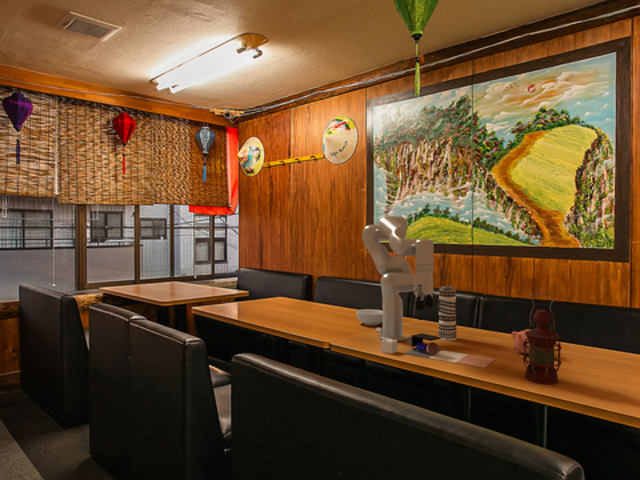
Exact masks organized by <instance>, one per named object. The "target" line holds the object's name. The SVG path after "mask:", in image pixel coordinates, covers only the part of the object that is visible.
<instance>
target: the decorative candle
mask: <svg viewBox="0 0 640 480" xmlns="http://www.w3.org/2000/svg"><path fill="white" fill-rule="evenodd" d="M456 292H457V289H456V288H455V287H454V286H450V285H445V286H441V287H440V288H439V297H438V298H437V304H438V305H437V308H438V309H437V310H438V315H439V319H438V324H437V325H438V327H437V329H439V330H438V331H437V332H438V334H437V337H441V339H440V340H441V341H448V342H449V341H456V340H457V332H458V331H456V330H457V320H456V319H457V318H456V316H457V314H458V313H457V312H458V310H457V309H456V308H458V302H456V301H458V300H459V299H458V298H457V296H456V294H457V293H456Z"/></svg>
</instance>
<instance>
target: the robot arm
mask: <svg viewBox="0 0 640 480" xmlns="http://www.w3.org/2000/svg"><path fill="white" fill-rule="evenodd" d="M408 227H409V222H408V220H407V219H406V218H405V217H404V216H398V215H397V216H396V215H395V216H393V215H388V216H387V215H386V216H382V217H381V218H380V219H379V220H378V223H377V224H369V225H366V226H365V227H364V228H363V230H362V235H361V236H362V241H363V244H364V247H365V248H366V249H367V252H369V254H370V256H371V258H372V261H373V263H374V265H375V267H376V269H377V271H378V273H379V274H380V275H382V276H381V277H380V288H381V295H382V311H383V323H382V327H376V329H375V333H380V334H379V339H380V340H384V339H387V338H388V339H394V340H397V342H401V341H405V340H406V339H407V336H406V335H405V334H403V332H404V331H403V325H404V324H403V323H404V318H403V317H404V316H403V315H404V313H403V311H404V310H403V309H404V305H403V299H402V297H401V296H400V293H408V292H409V293H411V292H413V294H414V297H415V298H414V299H415V310H416V311H424V308H433V306H434V303H433V302H434V299H433V298H434V295H433V294H434V277H433V273H434V270H435V269H434V268H435V267H434V262H435V261H434V251H435V250H434V246H435V245H434V241H433V239H429V238H427V239H425V238H424V239H423V238H406V237H407V235H408V233H407V232H408V231H407V230H408ZM381 242H388V243H389V247H390V249H391V250H392V251H393V252H394V253H395V254H397V255H391V254H390V253H389V251H388V249H387V248H386V246H385V245H384V244H383V243H381ZM406 256H407V257H409V256H410V257H412V256H415V257H414V258H415V265H414V268H415V269H414V271H415V273H414V271H413V269H412V267H411V265H410V263H409V261H408V259H407V258H406ZM424 300H425V301H424ZM424 303H425V305H424ZM424 306H425V307H424Z"/></svg>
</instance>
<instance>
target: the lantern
mask: <svg viewBox="0 0 640 480" xmlns="http://www.w3.org/2000/svg"><path fill="white" fill-rule="evenodd" d="M534 295H544V296H549V297H551V300H552V301H551V303H550V304H549V305H550V306H549V311H550V313H549V311H548V310H546V309H537V310H536V311H535V313H534V314H533V312H534V309H535V302H534V300H533V296H534ZM530 298H531V300H532V303H533V307H532V309H531V311H530V314H529V326H530V329H529V330H530V331H526V330H525V331H526V332H525V335H526V336H527V338H526V339H525V341H524V343H523V347H524V353H523V357H522V361H523V366H524V367H525V369H526V370H525V375H524V378H525V380H528V382H531V383H536V384H539V385H545V386H546V385H547V386H548V385H556V384H558V383H559V378H558V372H559V370H560V367H561V365H562V361H561V350H562V349H563V348H562V346H561V342H560V341H559V340H558V339H559V338H561V336H560V334H558V333H556V332H554V331H555V328H556V327H555V324H556V323H555V316H554V312H552V308H551V306H552V305H553V302H554V300H555V299H554V296H553V295H551V294H549V293H544V292H543V293H542V292H534V293H532V294H531V295H530ZM532 314H533V317H532ZM551 314H552V315H551ZM551 316H552V317H551ZM532 320H533V322H534V323H535V324H536V328H533V327H534V323H533V322H532ZM551 321H552V322H553V323H552V324H551ZM549 324H551V326H550V329H548V325H549ZM552 327H553V329H552ZM527 340H528V342H527ZM527 343H530V346H526V345H527ZM555 347H557V348H556V349H555ZM526 348H529V354H527V353H526ZM555 352H557V358H556V357H555ZM527 358H528V359H527ZM555 361H556V362H557V363H556V364H555ZM526 365H527V366H526Z"/></svg>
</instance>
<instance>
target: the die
mask: <svg viewBox="0 0 640 480" xmlns="http://www.w3.org/2000/svg"><path fill="white" fill-rule="evenodd" d="M380 341H381V344H380V345H381V347H380V348H381V349H380V352H381V353H385V354H389V355H393V354H394V353H397V352H398V341H397V340H394V339H388V338H387V339H384V340H382V339H380Z"/></svg>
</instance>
